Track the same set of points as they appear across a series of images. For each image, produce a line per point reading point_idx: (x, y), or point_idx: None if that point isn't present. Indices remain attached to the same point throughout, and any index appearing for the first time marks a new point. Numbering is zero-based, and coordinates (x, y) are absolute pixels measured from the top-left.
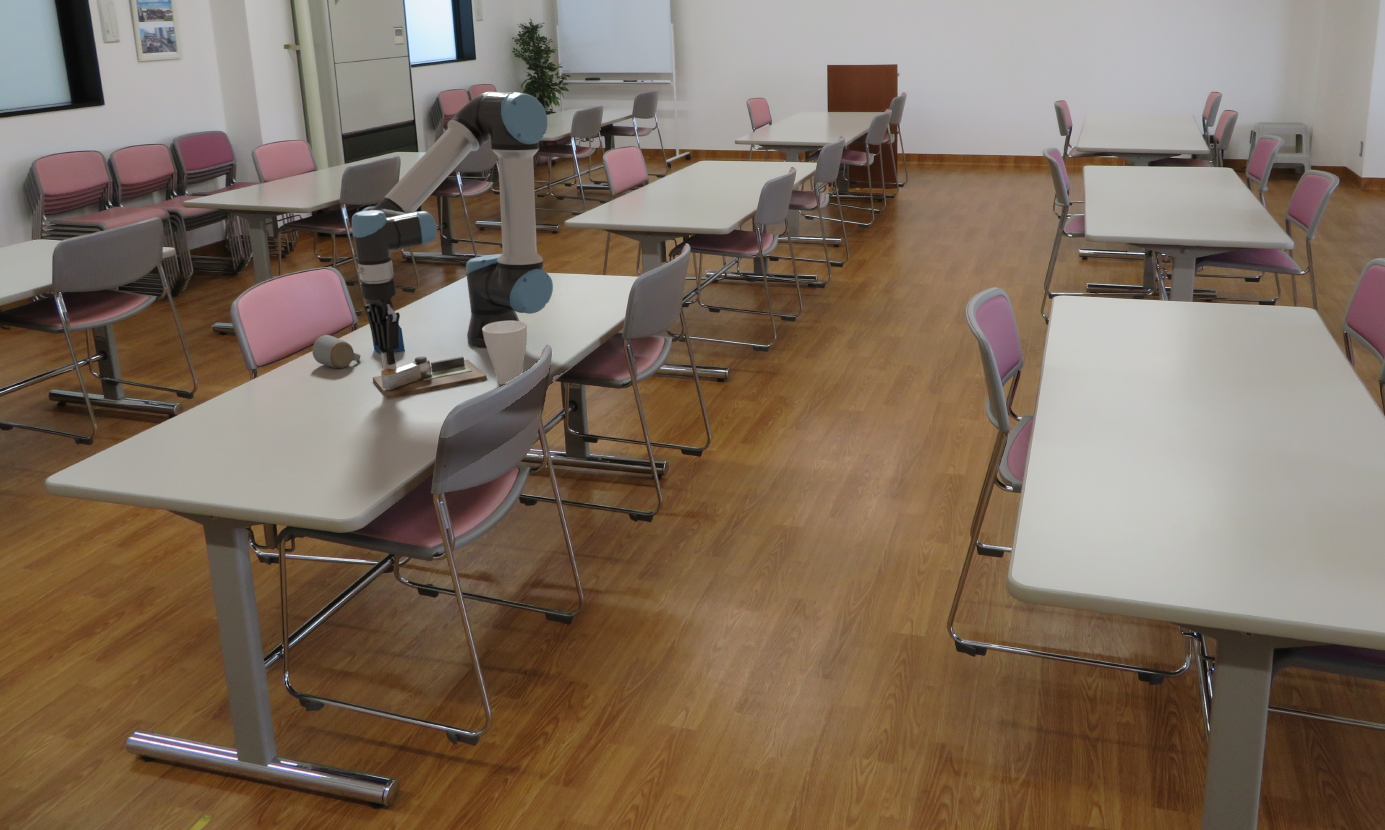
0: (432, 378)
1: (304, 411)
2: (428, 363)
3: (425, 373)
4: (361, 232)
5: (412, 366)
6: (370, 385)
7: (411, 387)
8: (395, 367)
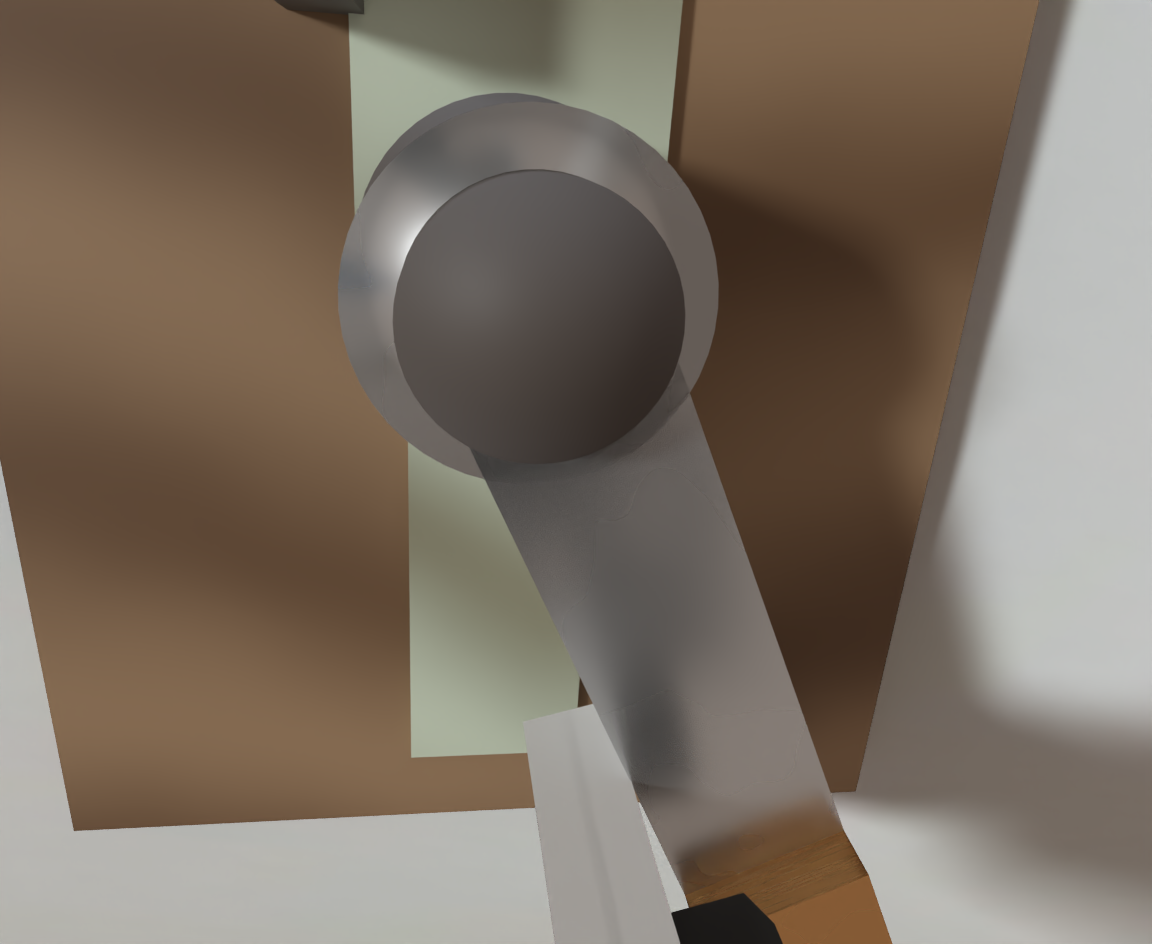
0: (668, 145)
1: None
2: (674, 176)
3: None
4: None
5: (716, 539)
6: (252, 832)
7: (821, 521)
8: (636, 809)
